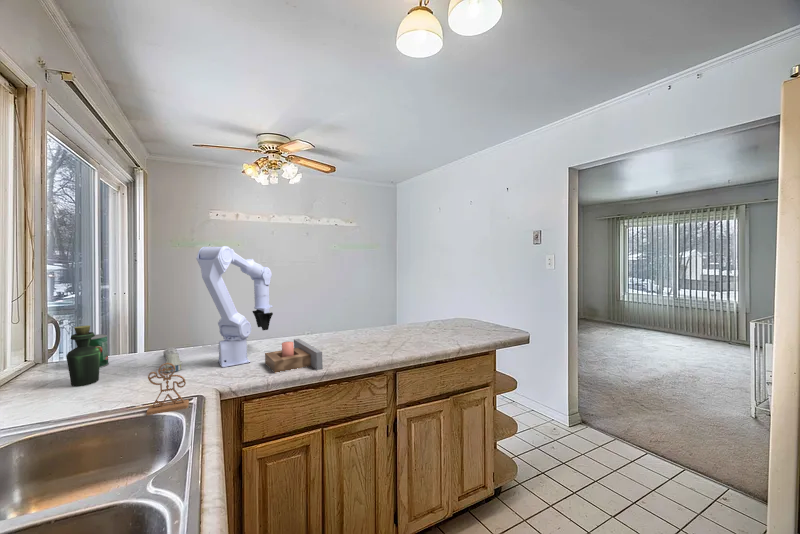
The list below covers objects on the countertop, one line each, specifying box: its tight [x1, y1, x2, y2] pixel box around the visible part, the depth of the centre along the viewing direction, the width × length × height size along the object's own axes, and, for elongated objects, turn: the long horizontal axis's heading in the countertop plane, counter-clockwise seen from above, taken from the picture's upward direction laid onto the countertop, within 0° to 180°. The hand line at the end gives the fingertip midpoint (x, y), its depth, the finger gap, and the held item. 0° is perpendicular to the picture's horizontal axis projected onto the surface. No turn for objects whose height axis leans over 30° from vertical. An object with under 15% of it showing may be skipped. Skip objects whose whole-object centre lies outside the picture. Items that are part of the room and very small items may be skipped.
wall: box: [293, 338, 323, 371], centre depth 129 cm, size 2×24×6 cm, turn 35°
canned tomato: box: [89, 333, 110, 369], centre depth 128 cm, size 8×8×11 cm
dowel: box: [281, 341, 294, 357], centre depth 125 cm, size 4×4×8 cm
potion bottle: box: [66, 325, 101, 388], centre depth 110 cm, size 8×8×18 cm
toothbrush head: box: [162, 346, 183, 373], centre depth 129 cm, size 5×7×25 cm
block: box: [264, 347, 312, 373], centre depth 125 cm, size 12×12×4 cm
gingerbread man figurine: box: [145, 362, 190, 416], centre depth 90 cm, size 9×4×12 cm, turn 116°
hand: (262, 328), depth 144 cm, fingers open, 7 cm apart
